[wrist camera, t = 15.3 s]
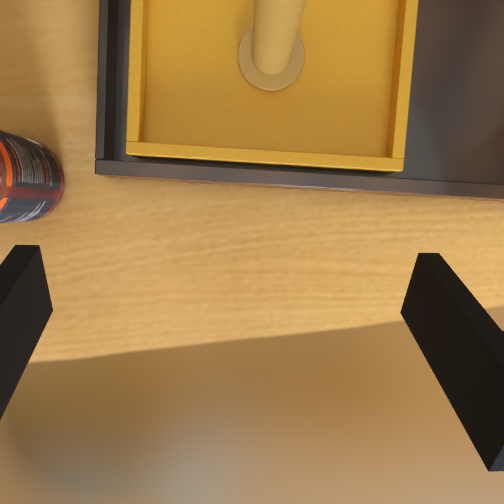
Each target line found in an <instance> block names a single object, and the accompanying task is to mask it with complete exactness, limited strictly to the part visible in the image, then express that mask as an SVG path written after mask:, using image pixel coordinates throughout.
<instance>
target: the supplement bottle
mask: <svg viewBox="0 0 504 504" xmlns="http://www.w3.org/2000/svg"><path fill="white" fill-rule="evenodd" d="M63 189H64V175H63V171H62V168H61V165H60V163H59V161H58V159H57V158H56V156H55V155H54V154H53V153H52V152H51V151H50V150H49V149H48V148H47V147H45V146H44V145H42V144H40V143H38V142H36V141H34V140H31V139H28V138H25V137H22V136H18V135H15V134H12V133H9V132H5V131H2V130H0V223H13V222H25V221H32V220H36V219H39V218H41V217H43V216H45V215H47V214H48V213H50V212H51V211H52V210H53V209H54V208H55V207H56V205H57V204H58V202H59V200H60V198H61V196H62V193H63Z"/></svg>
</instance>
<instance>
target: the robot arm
mask: <svg viewBox="0 0 504 504" xmlns="http://www.w3.org/2000/svg"><path fill="white" fill-rule="evenodd" d="M52 312H53V308H52V303H51V299H50V294H49V289H48V284H47V279H46V275H45V270H44V265H43V260H42V255H41V251H40V246H39V245H15V246H14V247H13V249H12V250H11V251H10V253H9V254H8V255H7V257H6V258H5V260H4V261H3V262H2V264H1V265H0V420H1V418H2V416H3V413H4V411H5V409H6V407H7V405H8V403H9V401H10V399H11V397H12V395H13V393H14V390H15V389H16V386H17V384H18V382H19V380H20V378H21V376H22V374H23V372H24V370H25V368H26V365H27V364H28V361H29V359H30V357H31V355H32V353H33V351H34V349H35V347H36V345H37V343H38V341H39V339H40V337H41V334H42V332H43V330H44V328H45V326H46V324H47V322H48V320H49V318H50V316H51V314H52ZM400 313H401V315H402V317H403V318H404V320H405V322H406V324H407V325H408V327H409V329H410V331H411V333H412V335H413V336H414V338H415V340H416V342H417V344H418V345H419V347H420V349H421V351H422V353H423V354H424V356H425V358H426V360H427V362H428V363H429V365H430V367H431V369H432V371H433V372H434V374H435V376H436V378H437V380H438V381H439V383H440V385H441V387H442V389H443V390H444V392H445V394H446V396H447V398H448V399H449V401H450V403H451V405H452V407H453V408H454V410H455V412H456V414H457V416H458V417H459V419H460V421H461V423H462V425H463V426H464V428H465V430H466V432H467V434H468V436H469V437H470V439H471V441H472V443H473V445H474V446H475V448H476V450H477V452H478V454H479V455H480V457H481V459H482V461H483V463H484V464H485V466H486V468H487V470H488V471H504V331H502V330H501V329H500V328H499V327H498V325H497V324H496V323H495V322H494V320H493V319H492V318H491V317H490V316H489V314H488V313H487V312H486V311H485V309H484V308H483V307H482V306H481V304H480V303H479V302H478V301H477V300H476V298H475V297H474V296H473V295H472V293H471V292H470V291H469V290H468V288H467V287H466V286H465V285H464V284H463V282H462V281H461V280H460V279H459V277H458V276H457V275H456V274H455V272H454V271H453V270H452V269H451V268H450V266H449V265H448V264H447V263H446V261H445V260H444V259H443V258H442V256H441V255H440V254H439V253H418V256H417V260H416V263H415V266H414V270H413V273H412V276H411V279H410V283H409V286H408V289H407V293H406V296H405V299H404V302H403V306H402V309H401V312H400Z"/></svg>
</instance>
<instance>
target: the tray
mask: <svg viewBox="0 0 504 504" xmlns="http://www.w3.org/2000/svg"><path fill="white" fill-rule="evenodd" d="M417 10H418V0H131V13H130V43H129V73H128V103H127V133H126V140H127V141H126V154H128V155H131V156H133V157H135V158H150V159H166V160H183V161H199V162H215V163H231V164H247V165H263V166H279V167H295V168H311V169H327V170H343V171H359V172H375V173H395V172H399V171H403V164H404V159H403V158H404V153H405V142H406V131H407V120H408V109H409V98H410V87H411V76H412V65H413V54H414V43H415V32H416V21H417Z"/></svg>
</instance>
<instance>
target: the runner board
mask: <svg viewBox="0 0 504 504" xmlns="http://www.w3.org/2000/svg"><path fill="white" fill-rule="evenodd" d="M130 13H131V0H100V4H99V41H98V78H97V115H96V152H95V158H96V160H95V174H97V175H101V176H105V177H110V178H126V179H142V180H158V181H174V182H191V183H207V184H223V185H239V186H256V187H272V188H288V189H304V190H321V191H337V192H353V193H369V194H386V195H402V196H418V197H434V198H450V199H467V200H483V201H499V202H504V0H418V10H417V21H416V32H415V43H414V54H413V65H412V76H411V87H410V98H409V109H408V120H407V131H406V142H405V153H404V158H403V159H404V164H403V171H399V172H395V173H375V172H359V171H343V170H327V169H311V168H295V167H279V166H263V165H247V164H231V163H215V162H199V161H183V160H166V159H150V158H135V157H133V156H131V155H128V154H126V141H127V140H126V133H127V103H128V73H129V43H130Z"/></svg>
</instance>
